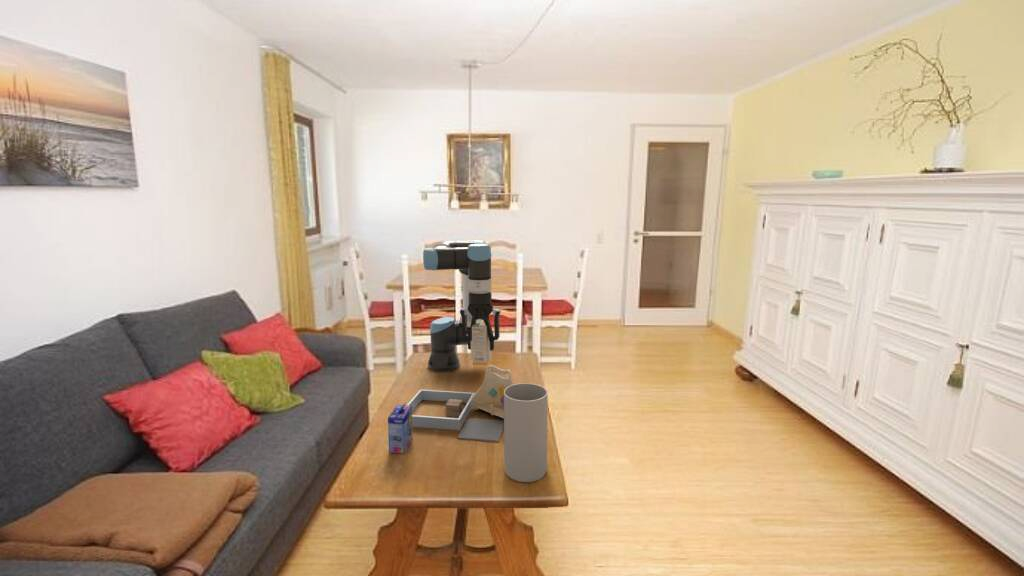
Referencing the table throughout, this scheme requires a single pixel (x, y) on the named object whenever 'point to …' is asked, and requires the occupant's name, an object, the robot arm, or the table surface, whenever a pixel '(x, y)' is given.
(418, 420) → the bin
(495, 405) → the shape sorter
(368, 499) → the table surface
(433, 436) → the table surface
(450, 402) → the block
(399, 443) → the ink cartridge box
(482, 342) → the supplement box
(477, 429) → the mat
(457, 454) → the table surface
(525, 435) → the cylinder vase
